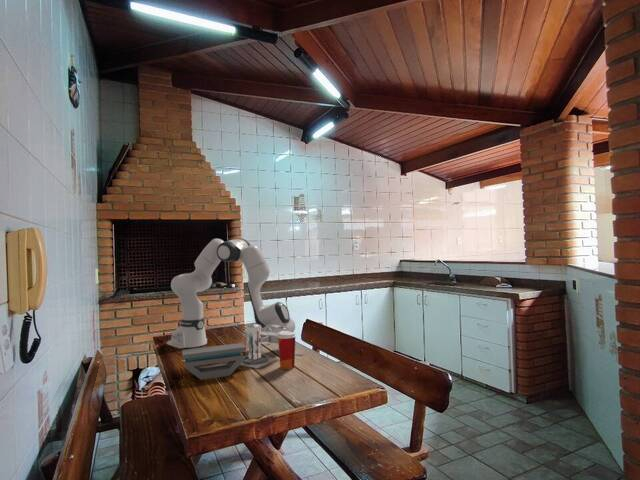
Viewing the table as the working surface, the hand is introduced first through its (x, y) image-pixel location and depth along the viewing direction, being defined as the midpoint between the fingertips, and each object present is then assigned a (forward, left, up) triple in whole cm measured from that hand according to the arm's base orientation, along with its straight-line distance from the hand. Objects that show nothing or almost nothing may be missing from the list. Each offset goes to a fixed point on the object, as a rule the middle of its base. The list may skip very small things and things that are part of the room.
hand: (253, 339), depth 174 cm
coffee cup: (+18, +1, -11) cm, 21 cm away
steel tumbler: (0, +1, -9) cm, 9 cm away
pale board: (0, +1, -10) cm, 10 cm away
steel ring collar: (0, +1, -10) cm, 10 cm away
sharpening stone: (-4, -20, -11) cm, 23 cm away
